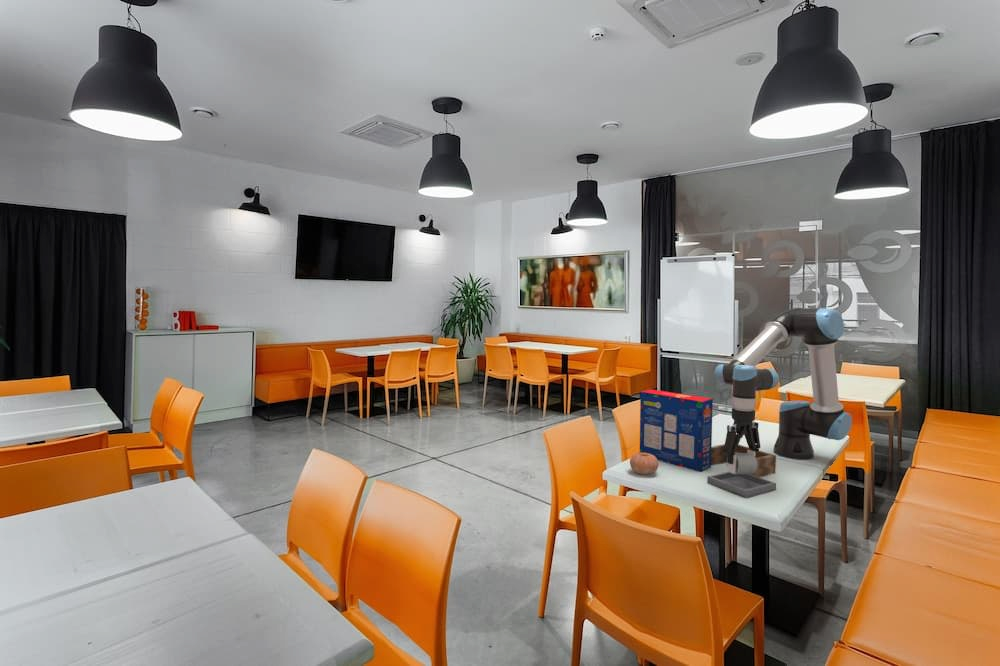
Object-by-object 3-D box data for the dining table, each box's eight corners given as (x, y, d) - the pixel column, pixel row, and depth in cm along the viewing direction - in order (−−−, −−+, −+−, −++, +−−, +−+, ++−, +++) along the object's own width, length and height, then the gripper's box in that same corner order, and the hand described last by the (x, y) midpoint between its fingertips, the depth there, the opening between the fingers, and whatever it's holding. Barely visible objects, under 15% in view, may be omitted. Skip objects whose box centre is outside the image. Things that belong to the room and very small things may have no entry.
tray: (736, 475, 194) (737, 469, 194) (776, 490, 180) (776, 483, 180) (707, 483, 187) (707, 476, 187) (745, 498, 173) (746, 491, 172)
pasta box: (710, 467, 204) (712, 398, 202) (700, 472, 199) (702, 401, 197) (650, 451, 225) (651, 389, 223) (639, 455, 220) (640, 391, 218)
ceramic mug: (759, 476, 179) (760, 455, 179) (738, 477, 178) (738, 455, 178) (741, 467, 190) (742, 447, 189) (721, 468, 189) (721, 447, 188)
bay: (731, 459, 214) (732, 442, 214) (775, 473, 197) (776, 455, 196) (707, 464, 208) (707, 447, 207) (749, 479, 190) (750, 461, 190)
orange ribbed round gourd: (624, 470, 201) (624, 450, 200) (646, 467, 205) (647, 447, 204) (640, 479, 191) (641, 458, 190) (664, 475, 195) (664, 455, 194)
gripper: (754, 403, 190) (752, 462, 191) (713, 409, 180) (711, 471, 181) (773, 407, 183) (771, 468, 185) (731, 414, 173) (729, 478, 175)
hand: (741, 470), depth 183 cm, fingers closed on ceramic mug, 9 cm apart
